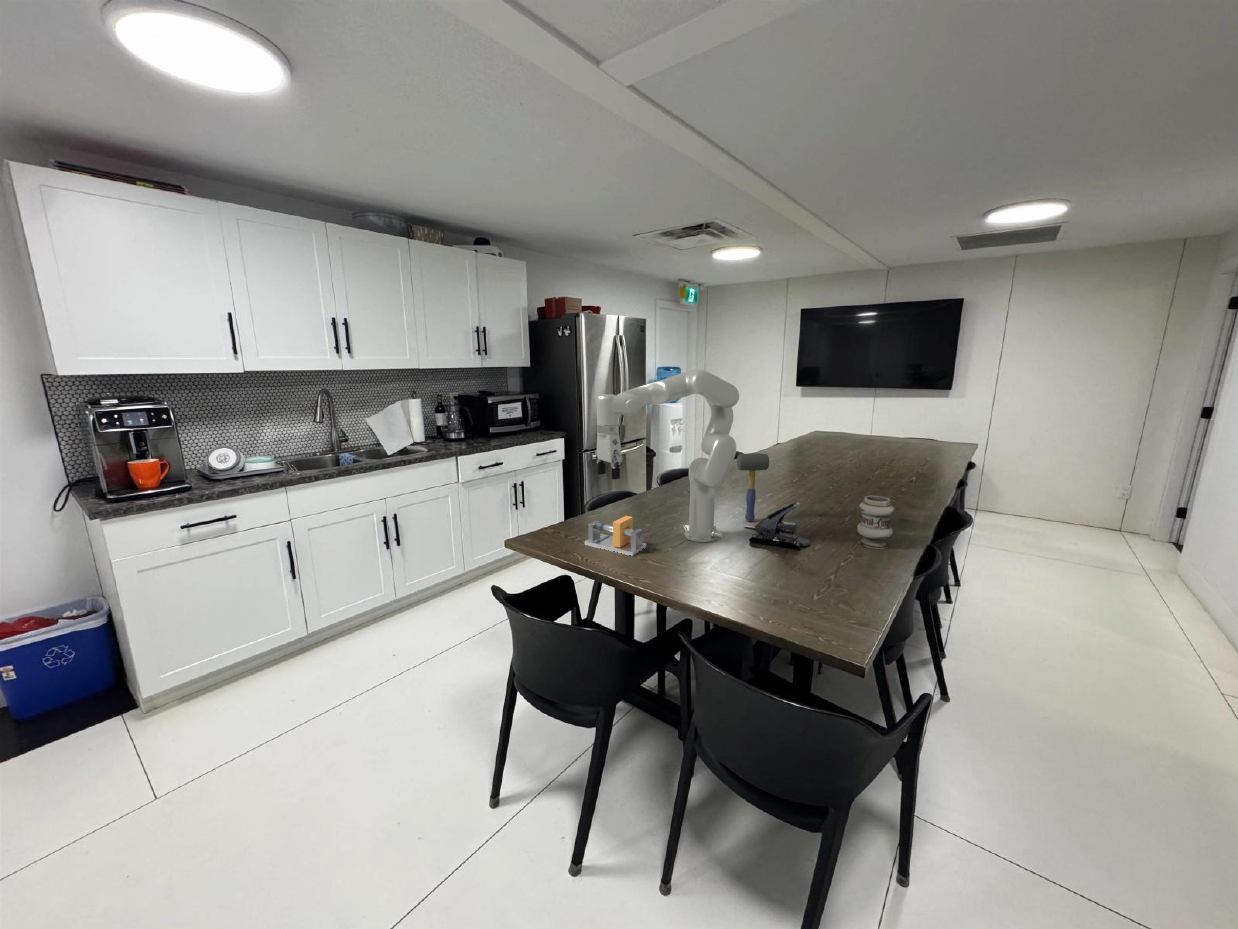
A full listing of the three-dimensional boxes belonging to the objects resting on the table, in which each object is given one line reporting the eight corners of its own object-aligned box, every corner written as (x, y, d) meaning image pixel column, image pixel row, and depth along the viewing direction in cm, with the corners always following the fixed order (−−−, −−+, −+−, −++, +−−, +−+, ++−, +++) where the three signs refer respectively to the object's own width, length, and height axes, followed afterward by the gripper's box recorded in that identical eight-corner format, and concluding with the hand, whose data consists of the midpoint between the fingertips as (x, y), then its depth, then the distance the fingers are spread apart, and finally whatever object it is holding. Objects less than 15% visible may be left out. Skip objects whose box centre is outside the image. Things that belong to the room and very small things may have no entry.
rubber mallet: (761, 518, 212) (765, 451, 206) (766, 523, 204) (770, 454, 199) (733, 518, 212) (736, 451, 206) (737, 524, 204) (740, 454, 199)
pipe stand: (646, 547, 178) (646, 527, 177) (632, 556, 170) (632, 535, 168) (599, 537, 189) (599, 518, 188) (584, 544, 181) (584, 525, 179)
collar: (632, 540, 180) (632, 517, 178) (619, 547, 173) (619, 523, 171) (625, 538, 182) (625, 515, 180) (613, 545, 174) (612, 522, 173)
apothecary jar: (848, 540, 184) (852, 495, 181) (872, 537, 188) (877, 492, 184) (873, 551, 173) (878, 503, 169) (899, 548, 177) (904, 500, 173)
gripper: (630, 431, 165) (630, 479, 169) (604, 426, 179) (605, 471, 183) (611, 433, 161) (612, 482, 165) (586, 428, 175) (587, 473, 179)
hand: (608, 476), depth 174 cm, fingers open, 9 cm apart
